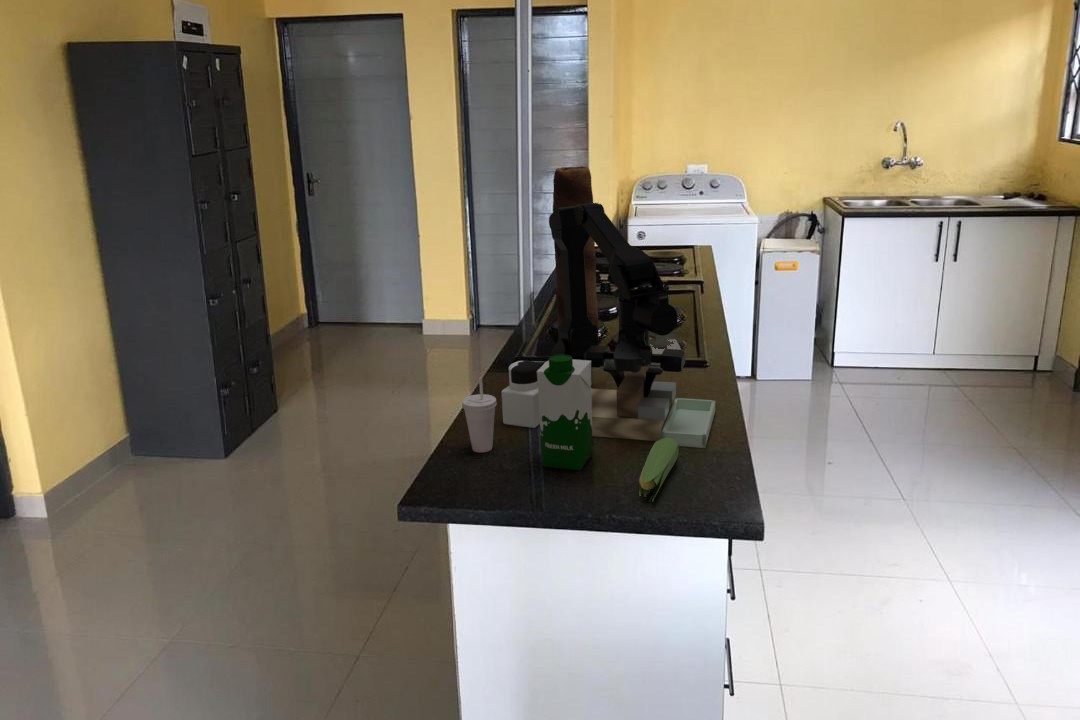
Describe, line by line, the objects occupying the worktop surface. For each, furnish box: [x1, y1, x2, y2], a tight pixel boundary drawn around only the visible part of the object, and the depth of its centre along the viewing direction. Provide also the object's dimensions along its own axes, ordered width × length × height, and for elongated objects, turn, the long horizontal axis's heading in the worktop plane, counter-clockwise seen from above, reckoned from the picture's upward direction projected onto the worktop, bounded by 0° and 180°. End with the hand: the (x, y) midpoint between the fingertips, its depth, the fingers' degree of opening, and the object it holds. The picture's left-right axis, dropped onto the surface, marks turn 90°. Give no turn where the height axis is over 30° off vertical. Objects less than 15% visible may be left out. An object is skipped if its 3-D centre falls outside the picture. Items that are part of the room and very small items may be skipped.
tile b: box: [638, 397, 669, 421], centre depth 163 cm, size 5×5×2 cm
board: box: [591, 388, 674, 442], centre depth 170 cm, size 17×15×4 cm
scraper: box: [616, 367, 648, 417], centre depth 168 cm, size 4×14×5 cm, turn 163°
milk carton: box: [537, 354, 593, 471], centre depth 152 cm, size 9×9×20 cm
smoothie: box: [461, 377, 497, 453], centre depth 159 cm, size 6×6×14 cm
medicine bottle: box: [500, 360, 540, 429], centre depth 172 cm, size 7×7×12 cm
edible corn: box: [638, 438, 680, 503], centre depth 146 cm, size 5×20×5 cm
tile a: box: [648, 380, 677, 403], centre depth 171 cm, size 5×5×2 cm
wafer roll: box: [552, 166, 600, 341], centre depth 210 cm, size 10×11×45 cm
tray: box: [662, 397, 716, 449], centre depth 166 cm, size 8×18×2 cm, turn 164°
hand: (634, 400), depth 168 cm, fingers open, 4 cm apart
